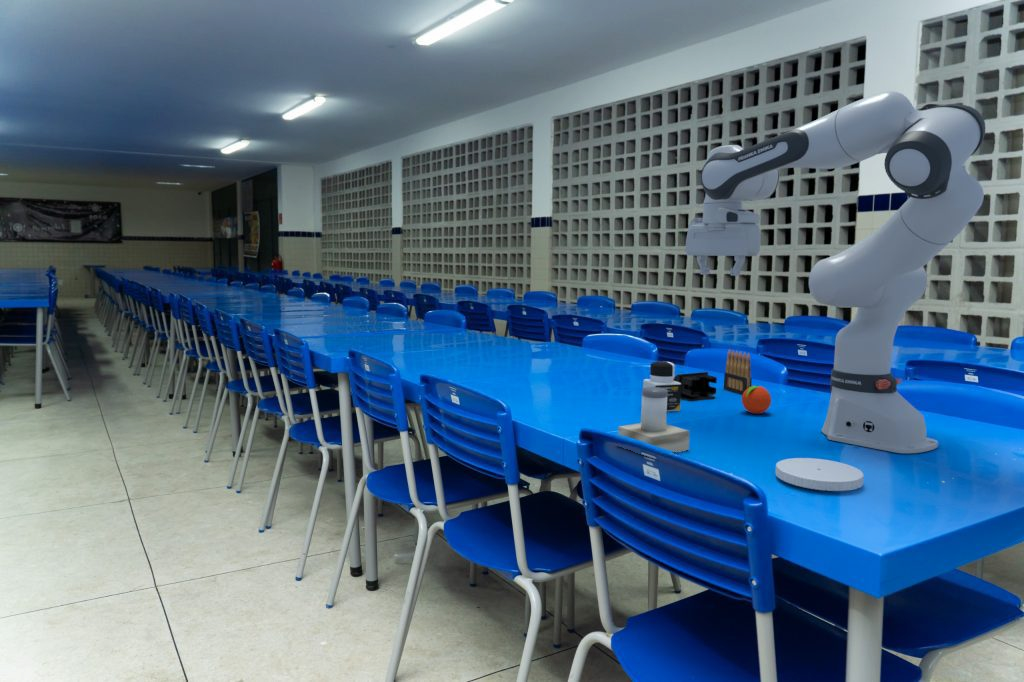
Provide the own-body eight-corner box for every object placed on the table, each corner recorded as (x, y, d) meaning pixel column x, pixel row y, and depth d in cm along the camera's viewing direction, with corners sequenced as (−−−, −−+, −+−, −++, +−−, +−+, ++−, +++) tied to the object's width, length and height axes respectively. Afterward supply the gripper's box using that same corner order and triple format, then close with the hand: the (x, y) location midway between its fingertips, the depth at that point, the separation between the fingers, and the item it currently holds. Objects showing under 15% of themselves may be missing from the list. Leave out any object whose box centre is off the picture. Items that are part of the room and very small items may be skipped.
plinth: (688, 450, 145) (689, 430, 145) (651, 457, 140) (652, 437, 139) (654, 439, 154) (654, 420, 153) (617, 445, 148) (618, 426, 148)
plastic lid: (766, 486, 124) (766, 472, 124) (785, 466, 136) (786, 453, 135) (855, 502, 116) (856, 487, 116) (868, 480, 128) (869, 466, 128)
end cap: (699, 394, 204) (700, 370, 203) (717, 398, 198) (718, 374, 197) (671, 397, 200) (672, 372, 199) (688, 401, 193) (689, 376, 193)
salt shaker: (670, 428, 147) (672, 389, 145) (657, 433, 143) (659, 393, 142) (648, 424, 150) (650, 386, 149) (636, 428, 146) (637, 389, 145)
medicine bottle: (654, 412, 180) (656, 364, 178) (642, 406, 187) (643, 360, 185) (680, 410, 182) (682, 363, 180) (667, 405, 189) (668, 359, 187)
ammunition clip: (723, 389, 211) (724, 348, 210) (728, 389, 212) (730, 348, 210) (745, 396, 201) (747, 353, 200) (751, 396, 202) (753, 353, 200)
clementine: (758, 418, 174) (759, 389, 173) (732, 413, 179) (734, 385, 179) (776, 414, 179) (777, 385, 178) (751, 409, 184) (752, 381, 184)
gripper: (680, 217, 179) (678, 274, 180) (747, 214, 161) (744, 276, 163) (698, 218, 182) (696, 273, 184) (765, 215, 165) (762, 276, 166)
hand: (719, 275), depth 173 cm, fingers open, 8 cm apart
